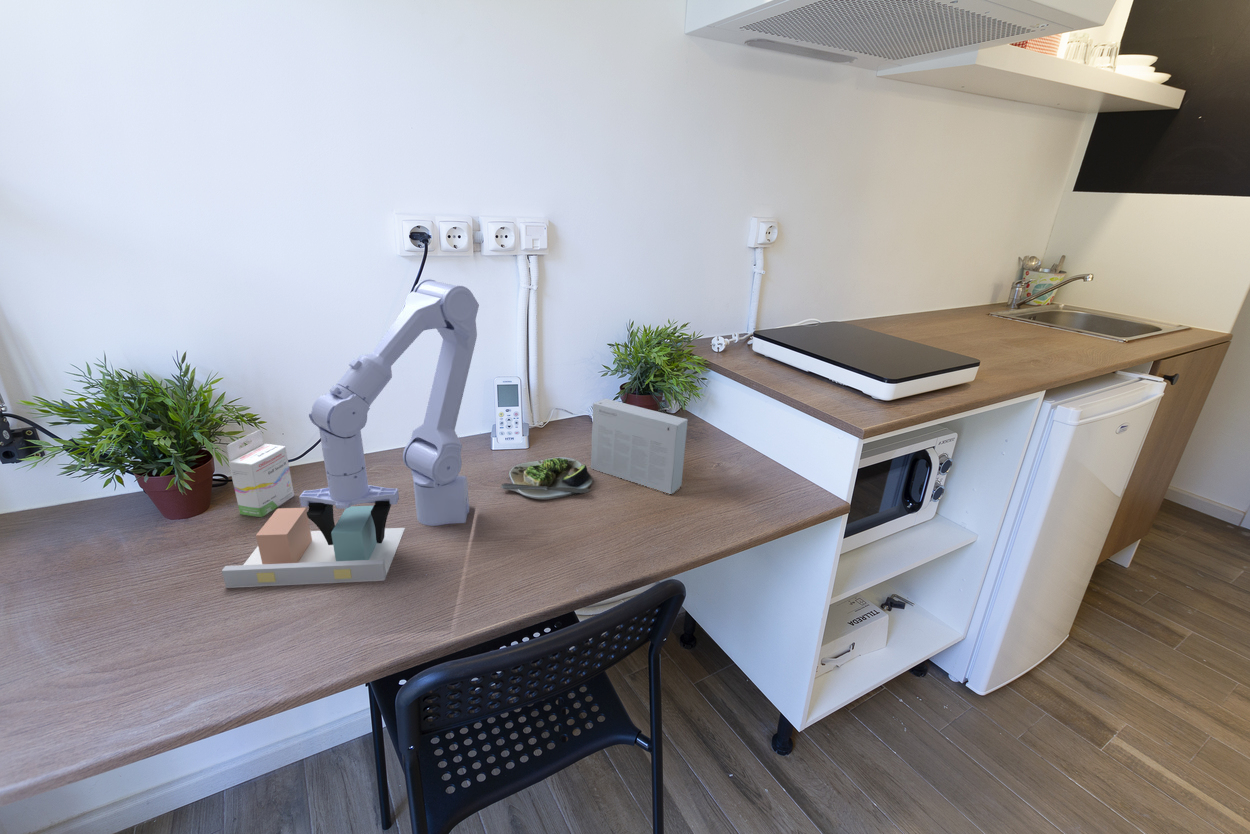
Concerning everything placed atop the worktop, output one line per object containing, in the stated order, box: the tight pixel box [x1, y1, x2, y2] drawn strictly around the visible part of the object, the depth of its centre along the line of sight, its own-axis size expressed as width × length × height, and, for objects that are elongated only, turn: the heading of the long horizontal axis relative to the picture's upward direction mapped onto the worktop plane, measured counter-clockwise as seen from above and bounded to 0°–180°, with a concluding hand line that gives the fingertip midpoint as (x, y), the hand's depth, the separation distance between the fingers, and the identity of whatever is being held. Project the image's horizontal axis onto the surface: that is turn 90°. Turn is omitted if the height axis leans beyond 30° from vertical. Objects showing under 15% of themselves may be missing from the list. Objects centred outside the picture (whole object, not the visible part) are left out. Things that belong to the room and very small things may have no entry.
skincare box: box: [590, 398, 689, 495], centre depth 126 cm, size 21×6×16 cm, turn 58°
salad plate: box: [500, 456, 594, 501], centre depth 124 cm, size 19×18×5 cm
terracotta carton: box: [255, 507, 312, 564], centre depth 95 cm, size 5×8×6 cm, turn 7°
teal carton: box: [331, 505, 377, 561], centre depth 97 cm, size 5×8×6 cm, turn 7°
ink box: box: [226, 429, 295, 518], centre depth 108 cm, size 9×5×15 cm, turn 168°
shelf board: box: [221, 527, 406, 589], centre depth 96 cm, size 23×15×4 cm, turn 98°
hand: (356, 540), depth 97 cm, fingers open, 7 cm apart
